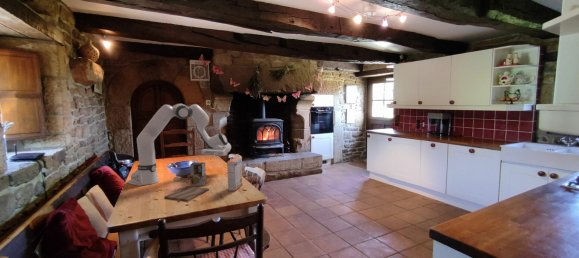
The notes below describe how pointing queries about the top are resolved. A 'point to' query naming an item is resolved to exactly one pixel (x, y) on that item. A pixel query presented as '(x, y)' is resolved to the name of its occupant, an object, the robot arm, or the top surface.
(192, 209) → the top surface
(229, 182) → the cracker box
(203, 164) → the coffee box
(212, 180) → the top surface
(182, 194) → the walnut board
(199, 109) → the robot arm
